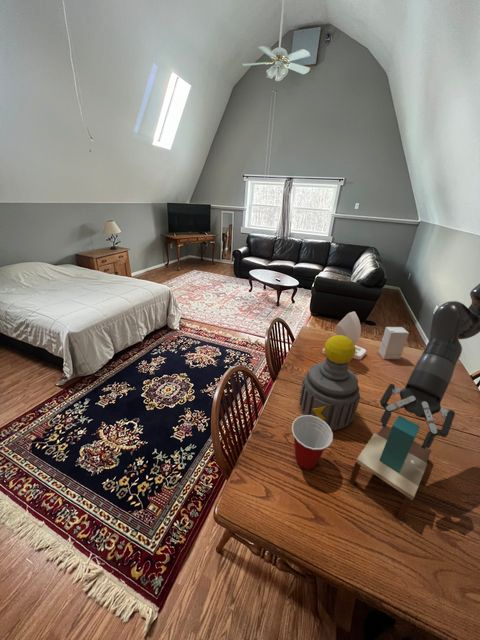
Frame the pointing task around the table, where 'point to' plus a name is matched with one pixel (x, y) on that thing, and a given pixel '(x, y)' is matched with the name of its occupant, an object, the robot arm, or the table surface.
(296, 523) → the table surface
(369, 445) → the cream miniature table
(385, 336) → the cosmetic box
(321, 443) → the plastic cup
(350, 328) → the jewelry stand
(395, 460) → the teal rectangular block
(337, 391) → the decorative lamp
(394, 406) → the robot arm
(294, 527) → the table surface
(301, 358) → the table surface
